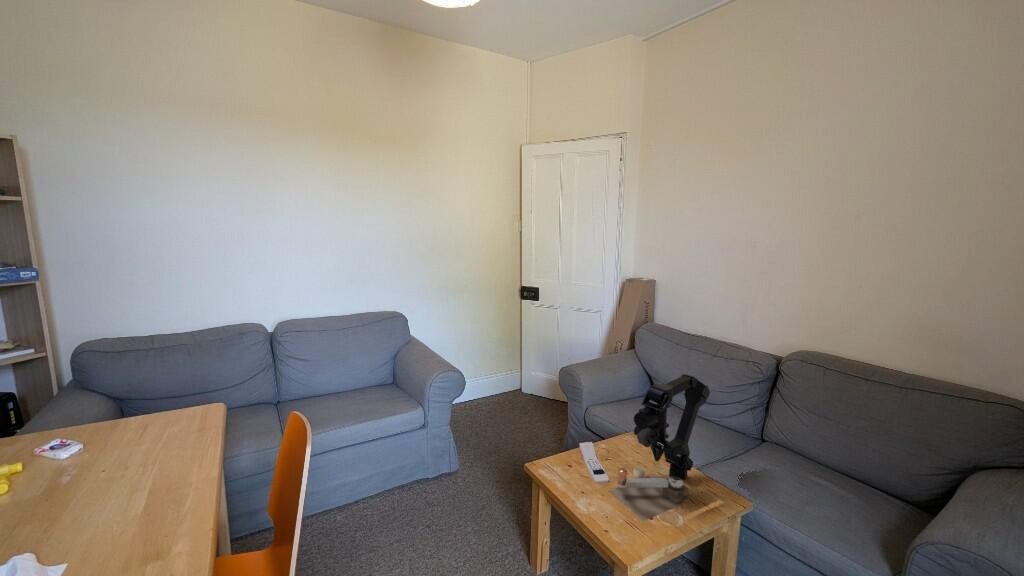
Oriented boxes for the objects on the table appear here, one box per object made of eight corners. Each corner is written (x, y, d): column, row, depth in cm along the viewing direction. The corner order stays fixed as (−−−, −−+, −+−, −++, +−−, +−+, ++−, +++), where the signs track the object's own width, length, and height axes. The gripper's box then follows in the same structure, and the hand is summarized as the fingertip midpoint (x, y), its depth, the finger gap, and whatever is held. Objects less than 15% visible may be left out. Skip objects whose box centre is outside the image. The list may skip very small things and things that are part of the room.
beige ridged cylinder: (638, 480, 159) (639, 465, 158) (646, 486, 155) (646, 471, 155) (630, 483, 157) (631, 468, 156) (638, 489, 154) (638, 474, 153)
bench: (651, 477, 163) (652, 464, 162) (689, 503, 147) (690, 489, 147) (607, 494, 153) (608, 481, 152) (643, 525, 137) (644, 509, 137)
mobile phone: (591, 441, 180) (612, 474, 156) (592, 453, 181) (612, 489, 157) (578, 442, 180) (596, 476, 155) (578, 455, 181) (596, 490, 156)
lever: (679, 480, 151) (680, 465, 150) (685, 489, 146) (685, 473, 145) (616, 481, 152) (616, 466, 151) (619, 489, 147) (619, 474, 146)
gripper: (623, 415, 154) (622, 454, 156) (662, 437, 137) (660, 480, 140) (645, 409, 159) (644, 447, 161) (685, 429, 142) (683, 471, 145)
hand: (657, 460), depth 152 cm, fingers closed
